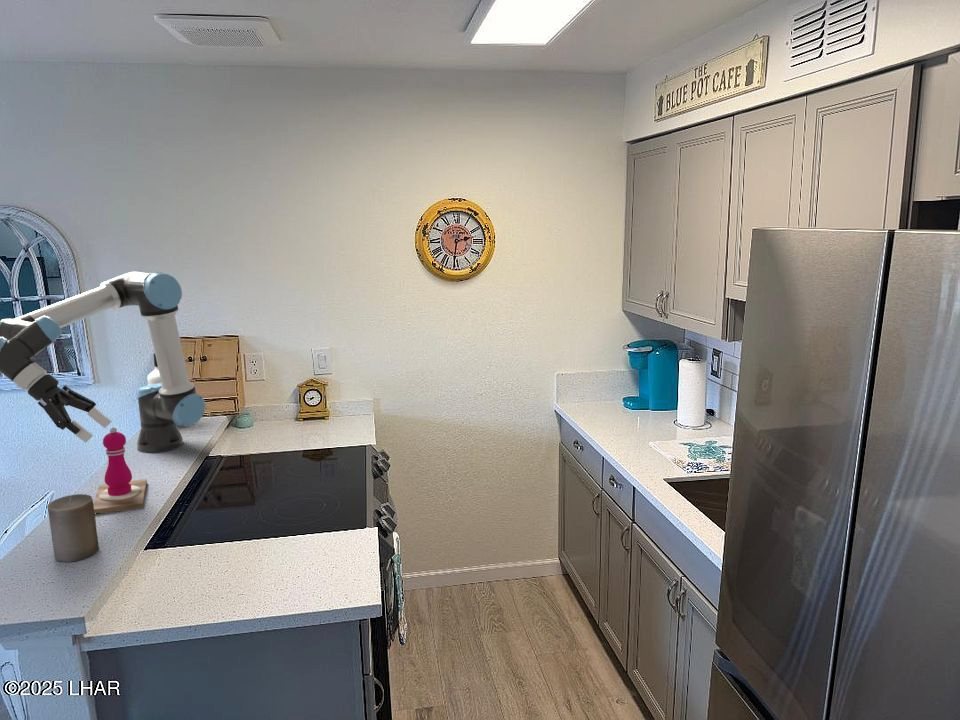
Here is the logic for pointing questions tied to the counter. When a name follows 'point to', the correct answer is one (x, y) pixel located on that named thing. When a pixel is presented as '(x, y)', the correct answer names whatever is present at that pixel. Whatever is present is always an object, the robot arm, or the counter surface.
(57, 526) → the pillar candle
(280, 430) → the counter surface
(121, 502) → the tan wooden flat board
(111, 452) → the pepper mill
